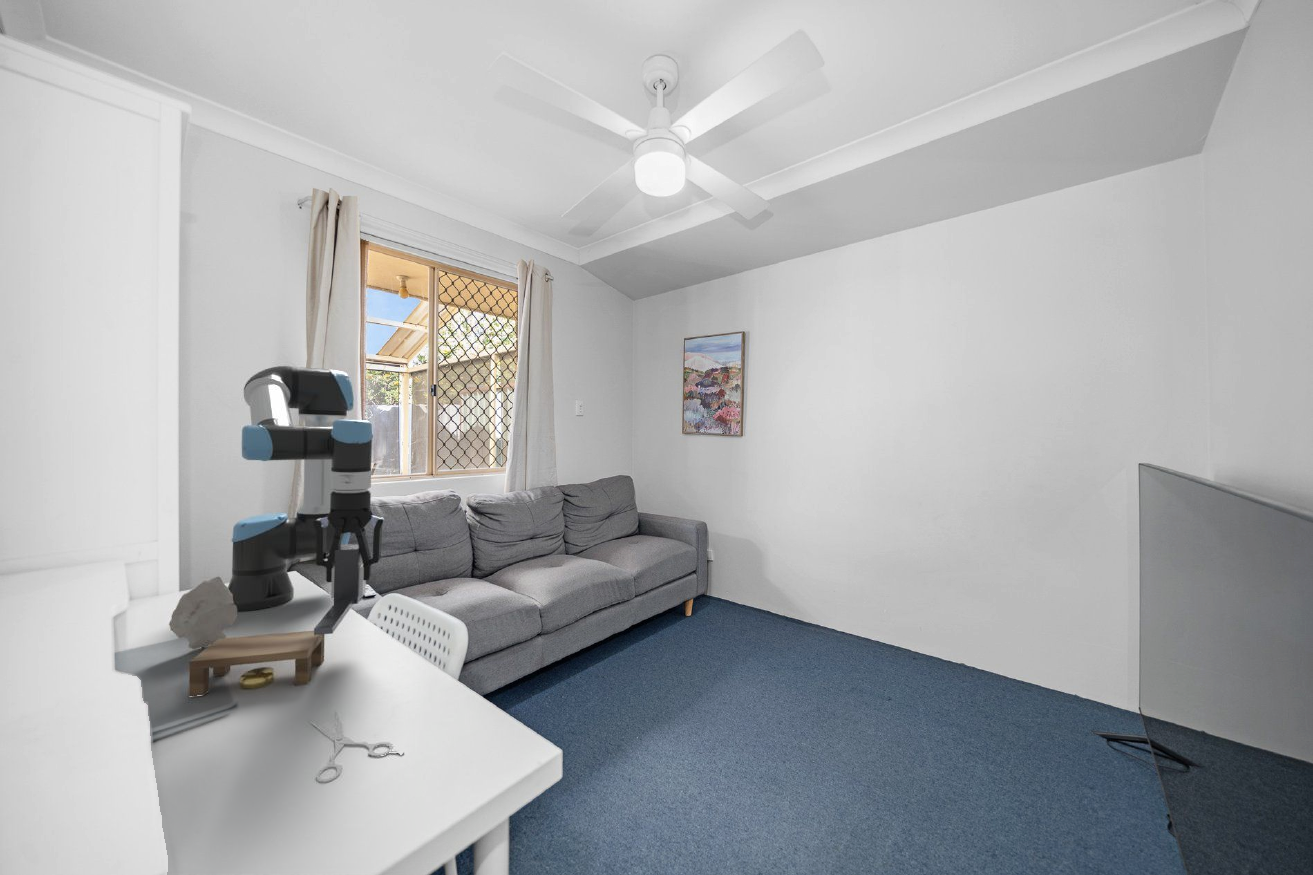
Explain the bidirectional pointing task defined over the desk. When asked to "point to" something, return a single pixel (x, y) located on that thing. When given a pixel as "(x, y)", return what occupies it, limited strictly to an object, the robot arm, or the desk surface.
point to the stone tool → (204, 613)
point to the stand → (257, 656)
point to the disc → (257, 678)
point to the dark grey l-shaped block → (342, 587)
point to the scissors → (340, 743)
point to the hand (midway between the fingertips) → (348, 595)
